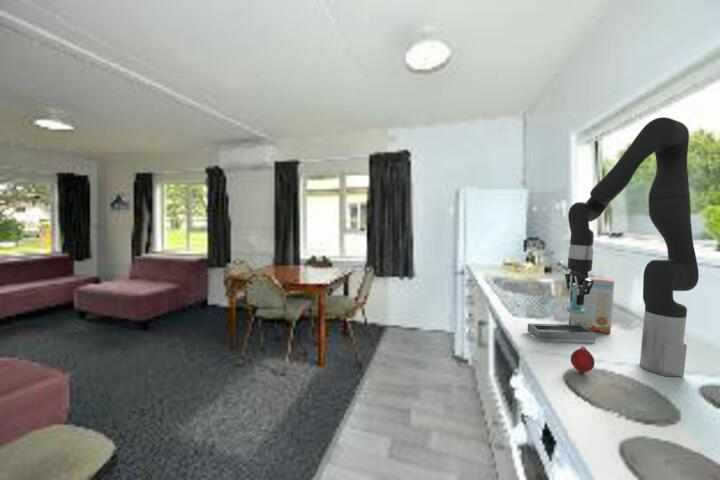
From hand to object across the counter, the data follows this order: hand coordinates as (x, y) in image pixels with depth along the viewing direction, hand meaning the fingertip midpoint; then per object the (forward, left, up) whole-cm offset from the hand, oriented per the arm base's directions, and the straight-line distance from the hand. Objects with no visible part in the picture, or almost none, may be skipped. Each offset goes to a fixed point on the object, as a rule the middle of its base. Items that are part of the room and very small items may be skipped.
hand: (576, 303), depth 126 cm
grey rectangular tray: (0, +5, -13) cm, 14 cm away
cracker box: (+11, -13, -13) cm, 22 cm away
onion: (-29, +15, -13) cm, 35 cm away
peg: (0, 0, -3) cm, 3 cm away
